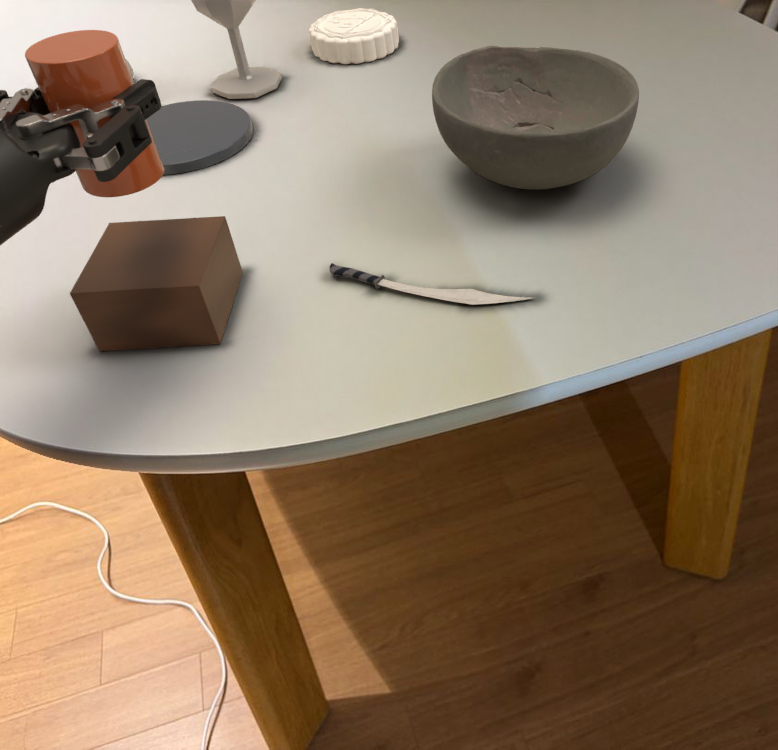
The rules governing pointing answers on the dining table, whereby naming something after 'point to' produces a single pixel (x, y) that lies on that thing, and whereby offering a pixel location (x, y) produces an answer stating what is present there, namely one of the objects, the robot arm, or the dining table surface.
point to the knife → (444, 294)
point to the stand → (159, 284)
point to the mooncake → (354, 36)
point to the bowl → (534, 113)
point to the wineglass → (237, 52)
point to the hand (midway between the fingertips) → (114, 88)
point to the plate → (198, 133)
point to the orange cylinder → (91, 97)
